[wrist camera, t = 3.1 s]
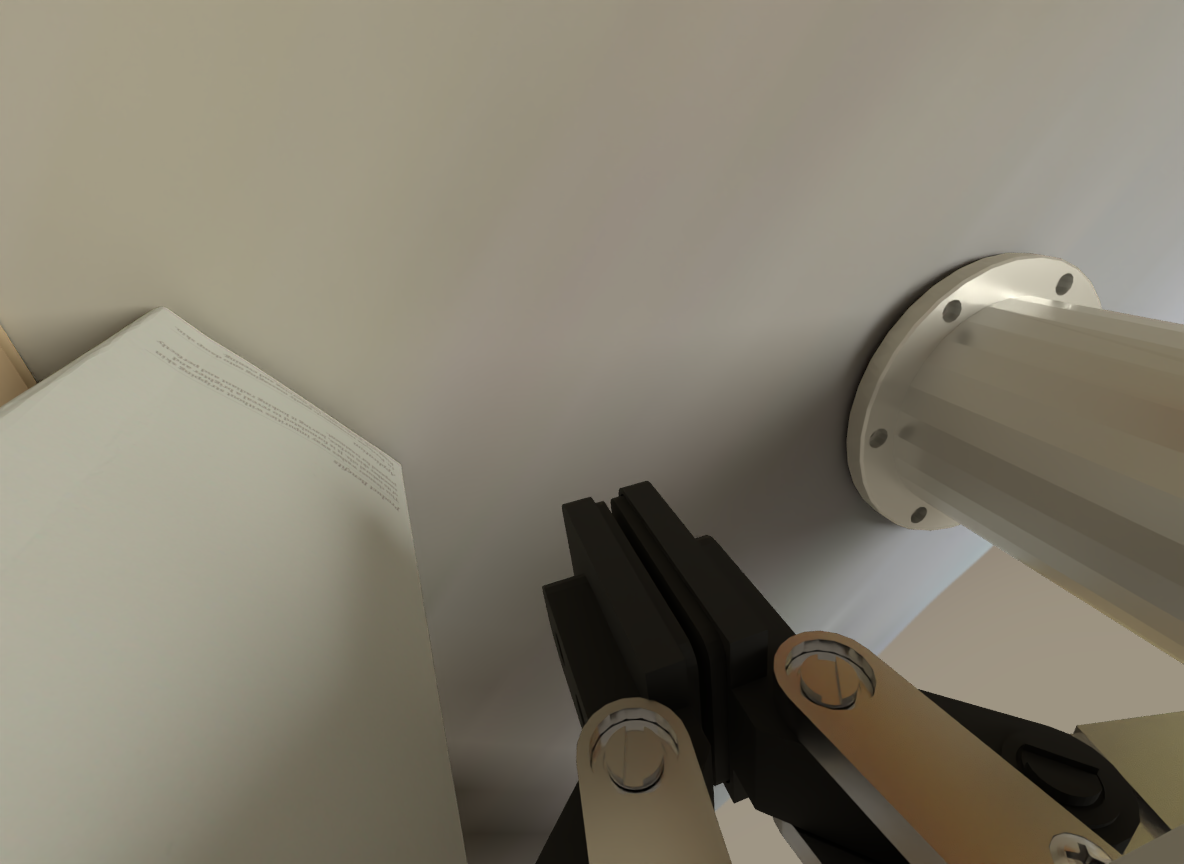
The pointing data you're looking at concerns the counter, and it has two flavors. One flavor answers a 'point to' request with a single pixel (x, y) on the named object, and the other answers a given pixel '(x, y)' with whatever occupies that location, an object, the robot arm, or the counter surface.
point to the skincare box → (209, 623)
